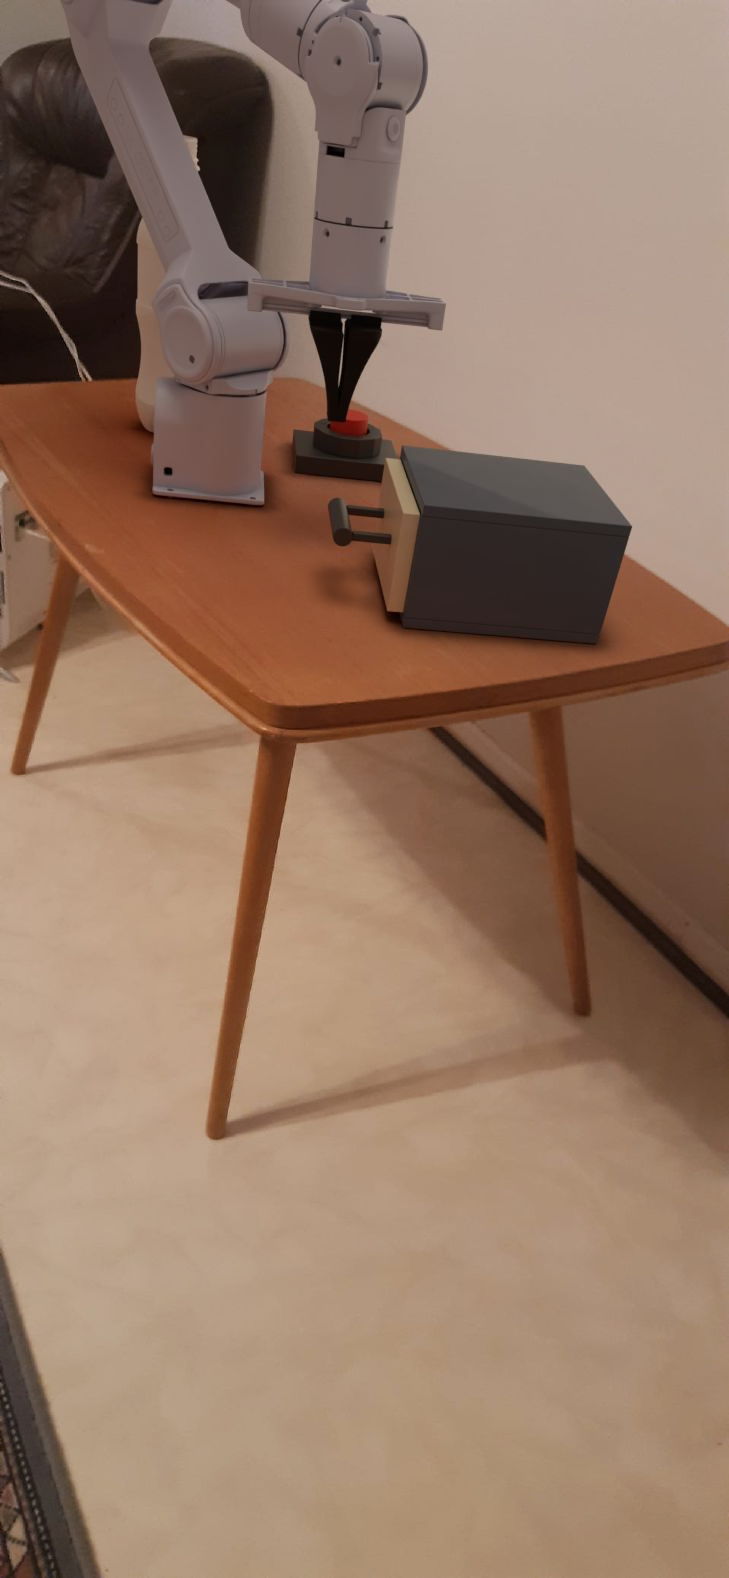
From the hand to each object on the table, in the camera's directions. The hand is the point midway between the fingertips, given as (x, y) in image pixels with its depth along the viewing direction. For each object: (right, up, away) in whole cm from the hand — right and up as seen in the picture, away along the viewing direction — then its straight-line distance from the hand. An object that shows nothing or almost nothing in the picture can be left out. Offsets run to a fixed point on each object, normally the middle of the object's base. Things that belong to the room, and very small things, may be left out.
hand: (336, 418), depth 80 cm
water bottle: (-17, +7, +22) cm, 29 cm away
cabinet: (+12, -14, -1) cm, 18 cm away
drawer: (+8, -13, -2) cm, 16 cm away
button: (+1, +5, +19) cm, 19 cm away
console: (0, +3, +21) cm, 21 cm away
